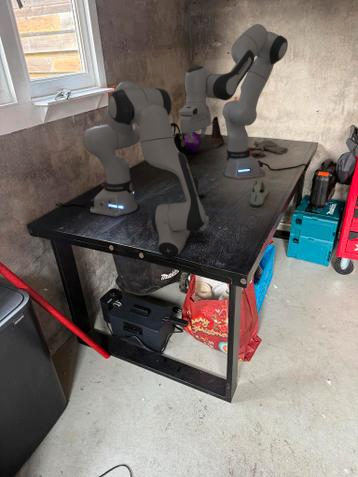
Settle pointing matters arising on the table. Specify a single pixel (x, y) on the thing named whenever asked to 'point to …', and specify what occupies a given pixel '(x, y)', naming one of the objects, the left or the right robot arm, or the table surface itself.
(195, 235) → the table surface
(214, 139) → the boot
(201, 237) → the table surface
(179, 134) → the handbag
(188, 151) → the decorative orb
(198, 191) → the black cylinder
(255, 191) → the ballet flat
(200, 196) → the lid
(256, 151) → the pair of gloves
